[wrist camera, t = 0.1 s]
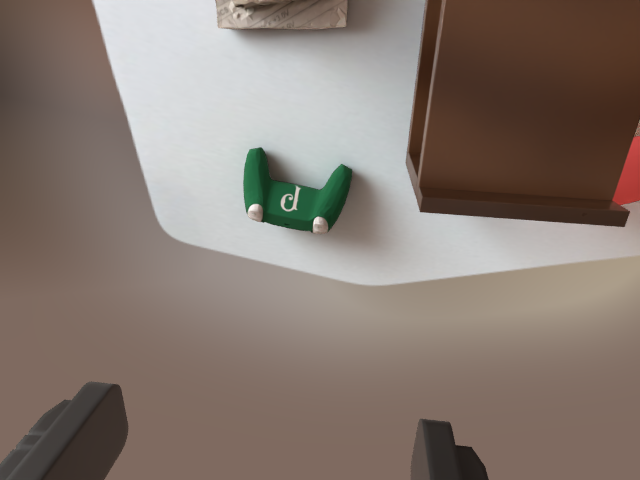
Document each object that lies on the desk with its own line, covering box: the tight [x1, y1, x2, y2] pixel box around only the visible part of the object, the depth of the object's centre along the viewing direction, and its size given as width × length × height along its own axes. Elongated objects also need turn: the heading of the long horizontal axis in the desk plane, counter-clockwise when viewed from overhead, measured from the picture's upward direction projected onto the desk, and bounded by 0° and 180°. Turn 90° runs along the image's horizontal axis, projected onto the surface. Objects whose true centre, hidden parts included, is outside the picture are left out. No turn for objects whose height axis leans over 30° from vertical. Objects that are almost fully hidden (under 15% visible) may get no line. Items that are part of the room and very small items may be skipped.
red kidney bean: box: [612, 136, 640, 205], centre depth 34 cm, size 5×9×6 cm, turn 97°
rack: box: [406, 0, 640, 227], centre depth 29 cm, size 14×12×12 cm
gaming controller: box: [243, 148, 352, 234], centre depth 38 cm, size 9×4×6 cm
